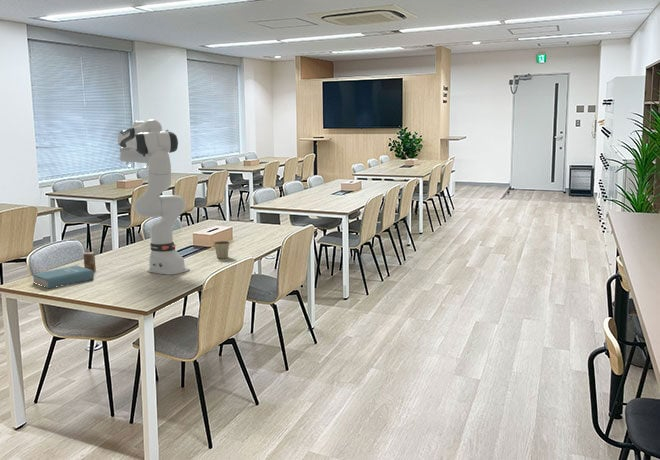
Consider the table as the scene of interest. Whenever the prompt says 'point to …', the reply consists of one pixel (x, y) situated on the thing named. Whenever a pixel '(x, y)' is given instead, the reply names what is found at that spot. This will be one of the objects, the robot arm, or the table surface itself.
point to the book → (63, 276)
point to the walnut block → (89, 261)
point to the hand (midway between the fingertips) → (137, 168)
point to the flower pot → (221, 249)
